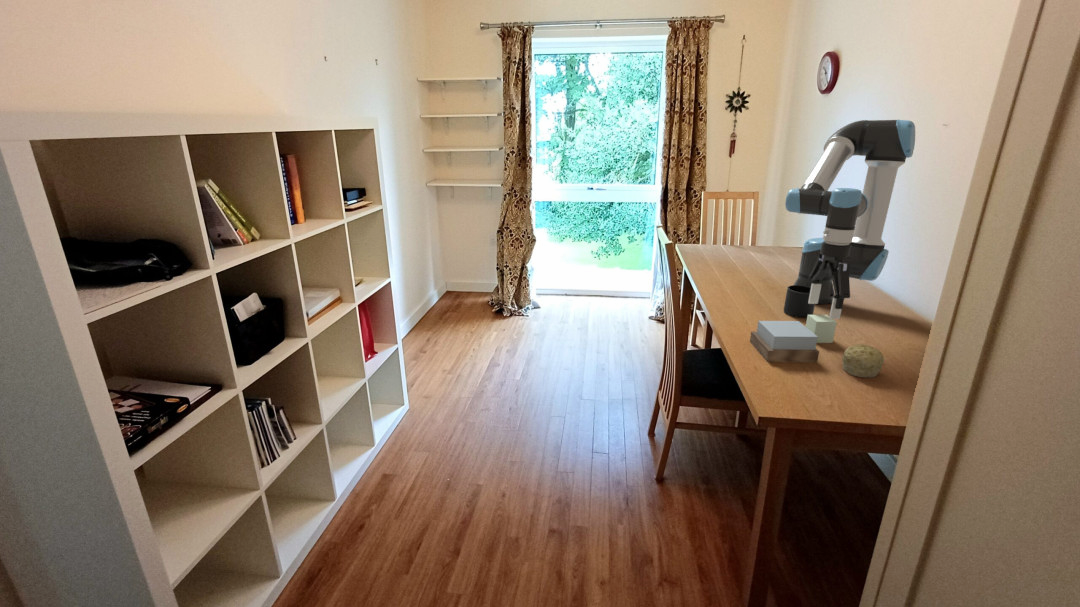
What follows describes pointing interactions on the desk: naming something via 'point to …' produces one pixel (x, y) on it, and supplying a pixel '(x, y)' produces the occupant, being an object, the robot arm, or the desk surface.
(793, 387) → the desk surface
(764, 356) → the bottom slab
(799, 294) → the mug
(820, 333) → the block
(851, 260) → the robot arm
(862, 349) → the decorative item
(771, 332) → the top slab
